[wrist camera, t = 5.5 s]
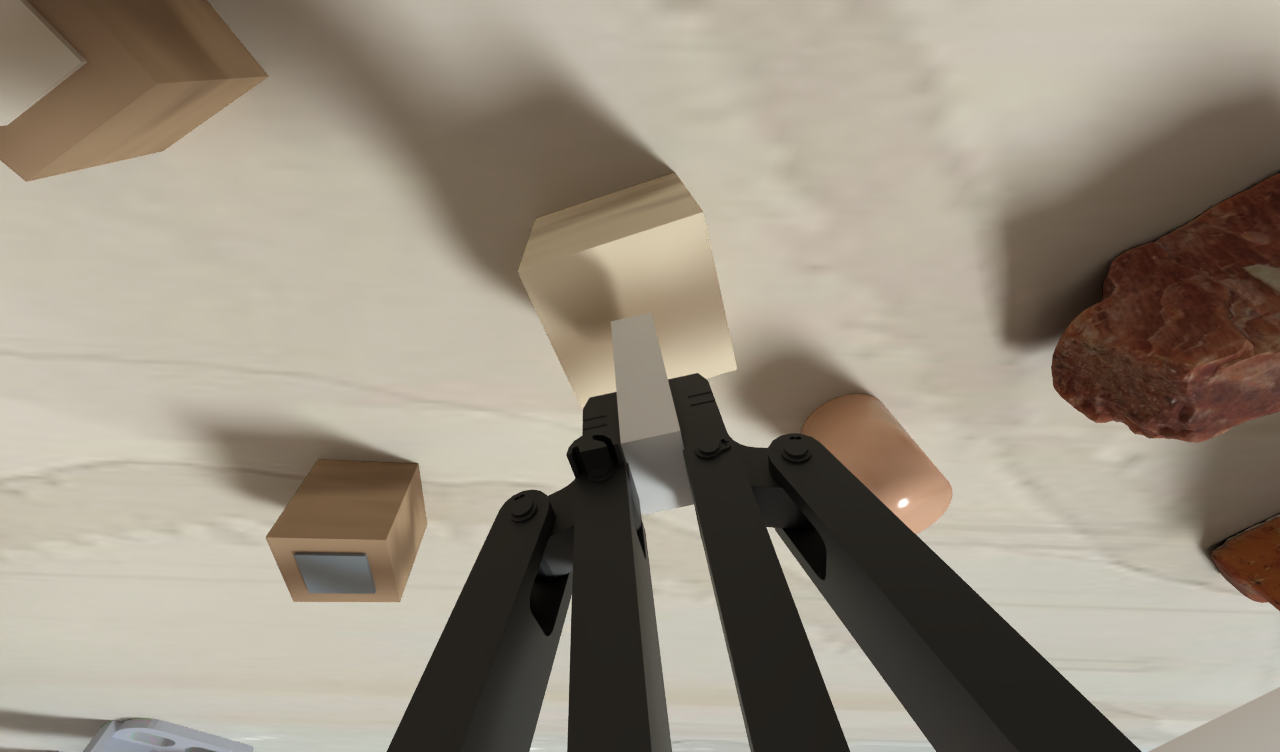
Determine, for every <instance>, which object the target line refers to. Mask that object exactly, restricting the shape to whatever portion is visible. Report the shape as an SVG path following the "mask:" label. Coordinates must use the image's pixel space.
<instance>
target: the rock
mask: <svg viewBox="0 0 1280 752" xmlns="http://www.w3.org/2000/svg"><path fill="white" fill-rule="evenodd" d="M1051 369H1052V376H1053V386H1054V388H1055V390H1056V391H1057V392H1058V393H1059V395H1060V396H1061V397H1062V398H1063V399H1064V400H1066V401H1067V402H1068V403H1069V404H1071V405H1072V406H1073V407H1074V408H1075V409H1077V410H1078V411H1079V412H1081V413H1083V414H1084V415H1085V416H1086V417H1088V418H1089V419H1090V420H1092V421H1094V422H1096V423H1106V422H1109V421H1113V420H1114V421H1116V422H1122V423H1124V424H1126V425H1127V426H1128V427H1129V429H1130V430H1131V431H1132V432H1133V433H1134V434H1140V435H1144V436H1146V437H1148V438H1166V439H1171V438H1173V439H1178V440H1183V441H1186V442H1202V441H1205V440H1207V439H1210V438H1213V437H1215V436H1218V435H1221V434H1224V433H1225V432H1227V431H1229V430H1230V428H1231V427H1233V426H1236V425H1238V424H1241V423H1243V422H1246V421H1248V420H1252V419H1255V418H1258V417H1261V416H1265V415H1270V414H1273V413H1276V412H1279V411H1280V173H1279V174H1276V175H1274V176H1271V177H1269V178H1267V179H1266V180H1264V181H1262V182H1260V183H1259V184H1257V185H1255V186H1254V187H1252V188H1250V189H1248V190H1246V191H1243V192H1241V193H1239V194H1237V195H1235V196H1233V197H1231V198H1229V199H1227V200H1225V201H1223V202H1221V203H1219V204H1217V205H1215V206H1213V207H1212V208H1210V209H1209V210H1207V211H1206V212H1204V213H1203V214H1201V215H1200V216H1198V217H1197V218H1195V219H1194V220H1192V221H1190V222H1189V223H1187V224H1185V225H1184V226H1182V227H1179V228H1177V229H1176V230H1174V231H1173V232H1171V233H1170V234H1168V235H1165V236H1162V237H1161V238H1159V239H1158V240H1156V241H1155V242H1150V243H1147V244H1144V245H1142V246H1139V247H1135V248H1132V249H1130V250H1128V251H1126V252H1124V253H1123V254H1121V255H1119V256H1117V257H1116V258H1115V259H1114V260H1113V261H1112V263H1111V265H1110V268H1109V271H1108V273H1107V275H1106V278H1105V280H1104V284H1103V301H1101V302H1099V303H1097V304H1095V305H1093V306H1091V307H1089V308H1087V309H1085V310H1084V311H1083V312H1082V313H1081V314H1079V315H1078V316H1077V317H1076V318H1074V320H1073V321H1072V322H1071V323H1070V324H1069V326H1068V327H1067V329H1066V330H1065V331H1064V333H1063V334H1062V335H1061V337H1060V339H1059V342H1058V344H1057V346H1056V348H1055V351H1054V354H1053V359H1052V366H1051Z"/></svg>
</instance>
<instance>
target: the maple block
mask: <svg viewBox="0 0 1280 752" xmlns="http://www.w3.org/2000/svg"><path fill="white" fill-rule="evenodd" d="M518 274H519V276H520V279H521V281H522V283H523V285H524V287H525V289H526V291H527V293H528V296H529V298H530V300H531V302H532V304H533V306H534V308H535V310H536V312H537V315H538V317H539V319H540V321H541V323H542V325H543V327H544V329H545V331H546V334H547V336H548V338H549V340H550V342H551V344H552V346H553V348H554V351H555V353H556V355H557V357H558V359H559V361H560V363H561V365H562V367H563V370H564V372H565V374H566V376H567V378H568V380H569V382H570V384H571V386H572V389H573V391H574V393H575V395H576V397H577V399H578V401H579V403H580V406H581V408H582V410H583V408H584V406H585V405H586V403H587V401H588V399H589V398H590V397H595V396H599V395H604V394H608V393H613V392H616V379H615V367H614V355H613V342H612V330H611V321H615V320H620V319H624V318H629V317H633V316H637V315H642V314H646V313H652V317H653V321H654V325H655V329H656V333H657V337H658V341H659V345H660V350H661V354H662V358H663V362H664V366H665V370H666V374H667V378H668V379H672V378H677V377H681V376H686V375H691V374H695V373H699V374H700V375H701V376H703V377H704V378H705V379H706V378H710V377H713V376H717V375H720V374H723V373H727V372H730V371H734V370H737V366H736V361H735V356H734V352H733V347H732V343H731V338H730V333H729V329H728V324H727V319H726V315H725V310H724V306H723V301H722V296H721V292H720V287H719V282H718V278H717V273H716V268H715V264H714V259H713V255H712V250H711V245H710V241H709V236H708V231H707V227H706V222H705V218H704V213H703V211H702V209H701V208H700V207H699V205H698V204H697V202H696V201H695V200H694V198H693V197H692V195H691V194H690V193H689V191H688V190H687V189H686V187H685V186H684V184H683V183H682V182H681V180H680V179H679V177H678V176H677V175H676V173H675V172H674V173H671V174H668V175H665V176H662V177H659V178H656V179H653V180H650V181H647V182H644V183H641V184H638V185H635V186H632V187H629V188H626V189H623V190H620V191H617V192H614V193H611V194H608V195H605V196H602V197H599V198H596V199H593V200H590V201H587V202H584V203H581V204H578V205H575V206H572V207H569V208H566V209H563V210H560V211H557V212H554V213H551V214H548V215H545V216H542V217H539V218H536V220H535V222H534V225H533V228H532V231H531V234H530V237H529V240H528V243H527V246H526V249H525V251H524V254H523V257H522V260H521V263H520V266H519V269H518Z"/></svg>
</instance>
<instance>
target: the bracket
mask: <svg viewBox="0 0 1280 752" xmlns="http://www.w3.org/2000/svg"><path fill="white" fill-rule="evenodd" d="M151 751H153V752H253V747H252V746H250V745H247V744H243V743H240V742H236V741H233V740H229V739H226V738H222V737H219V736H215V735H212V734H208V733H205V732H201V731H198V730H194V729H191V728H187V727H184V726H180V725H177V724H173V723H170V722H166V721H162V720H157V719H148V718H138V719H131V720H127V721H124V722H123V723H122V722H118V721H114V720H113V721H111V722H109V723H107V724H106V725H104V726H102V727H101V728H100V729H99V730H98V732H97V733H96V735H95V736H94V737H93V739H92V740H91V741H90V743H89V744H88V746H87V747H86V748H85V750H84V751H83V752H151ZM58 752H62V751H58Z"/></svg>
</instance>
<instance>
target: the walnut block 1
mask: <svg viewBox="0 0 1280 752" xmlns="http://www.w3.org/2000/svg"><path fill="white" fill-rule="evenodd" d="M267 77H268V75H267V74H266V72H265V71H264V70H263V69H262V68H261V66H260V65H259V64H258V63H257V61H256V60H255V59H254V58H253V56H252V55H251V54H250V53H249V52H248V50H247V49H246V48H245V47H244V45H243V44H242V43H241V42H240V41H239V39H238V38H237V37H236V36H235V34H234V33H233V32H232V31H231V29H230V28H229V27H228V26H227V25H226V23H225V22H224V21H223V20H222V18H221V17H220V16H219V15H218V13H217V12H216V11H215V10H214V9H213V7H212V6H211V5H210V4H209V2H208V1H207V0H0V160H1V161H2V162H3V163H4V164H6V165H7V166H8V167H9V168H10V169H12V170H13V171H14V172H15V173H16V174H18V175H19V176H20V177H21V178H23V179H24V180H25V181H26V182H27V181H31V180H36V179H40V178H45V177H49V176H53V175H58V174H62V173H67V172H71V171H76V170H80V169H85V168H89V167H94V166H98V165H103V164H107V163H111V162H116V161H120V160H125V159H129V158H134V157H138V156H143V155H147V154H152V153H156V152H161V151H164V150H165V149H166V148H168V147H169V146H171V145H172V144H173V143H175V142H176V141H178V140H179V139H181V138H182V137H183V136H185V135H186V134H188V133H189V132H190V131H192V130H193V129H195V128H196V127H198V126H199V125H200V124H202V123H203V122H205V121H206V120H207V119H209V118H210V117H212V116H213V115H214V114H216V113H217V112H219V111H220V110H222V109H223V108H224V107H226V106H227V105H229V104H230V103H231V102H233V101H234V100H236V99H237V98H239V97H240V96H241V95H243V94H244V93H246V92H247V91H248V90H250V89H251V88H253V87H254V86H255V85H257V84H258V83H260V82H261V81H263V80H264V79H265V78H267Z"/></svg>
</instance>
